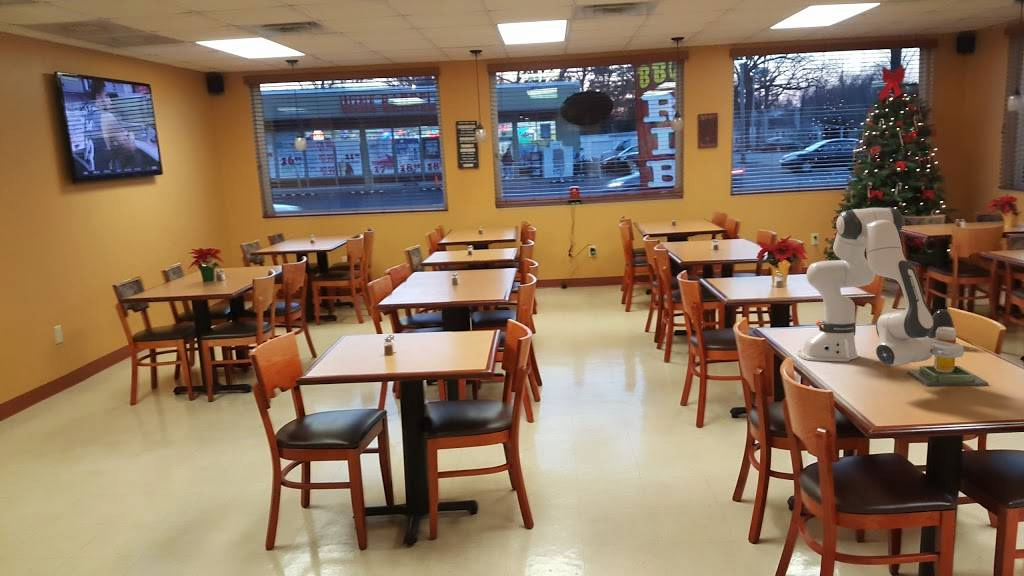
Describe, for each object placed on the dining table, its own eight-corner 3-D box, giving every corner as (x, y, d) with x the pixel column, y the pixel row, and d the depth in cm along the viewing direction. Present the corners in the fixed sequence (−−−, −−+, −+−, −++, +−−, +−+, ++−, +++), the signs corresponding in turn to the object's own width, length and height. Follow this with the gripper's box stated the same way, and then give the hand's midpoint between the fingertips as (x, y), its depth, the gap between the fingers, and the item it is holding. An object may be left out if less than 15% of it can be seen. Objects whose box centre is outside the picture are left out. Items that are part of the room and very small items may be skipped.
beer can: (956, 372, 253) (959, 330, 250) (937, 372, 254) (939, 330, 251) (950, 367, 259) (952, 326, 256) (931, 367, 260) (933, 326, 257)
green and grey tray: (926, 385, 254) (926, 377, 254) (907, 372, 270) (907, 364, 270) (988, 385, 252) (988, 376, 251) (965, 372, 267) (966, 364, 267)
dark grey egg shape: (951, 342, 309) (953, 307, 306) (957, 348, 299) (959, 312, 296) (924, 341, 312) (926, 306, 309) (929, 347, 302) (931, 311, 300)
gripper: (947, 346, 240) (976, 340, 245) (893, 333, 259) (922, 328, 264) (946, 364, 241) (975, 358, 246) (893, 350, 260) (921, 345, 265)
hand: (947, 342), depth 255 cm, fingers closed on beer can, 6 cm apart
